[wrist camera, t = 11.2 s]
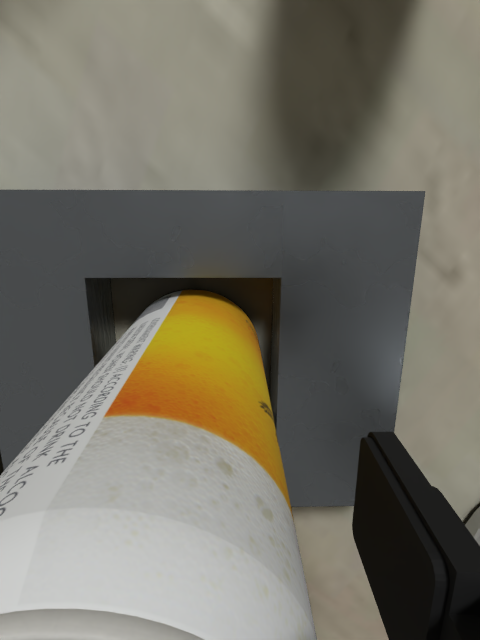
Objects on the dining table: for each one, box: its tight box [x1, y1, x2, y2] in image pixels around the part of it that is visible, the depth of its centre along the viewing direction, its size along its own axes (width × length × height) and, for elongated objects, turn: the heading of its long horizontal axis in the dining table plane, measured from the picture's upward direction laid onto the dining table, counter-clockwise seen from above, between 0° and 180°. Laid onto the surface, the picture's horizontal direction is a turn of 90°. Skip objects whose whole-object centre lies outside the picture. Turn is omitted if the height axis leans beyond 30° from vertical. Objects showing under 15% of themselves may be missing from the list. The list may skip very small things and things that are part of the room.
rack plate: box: [0, 190, 425, 507], centre depth 17 cm, size 18×14×3 cm
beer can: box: [0, 290, 317, 640], centre depth 12 cm, size 6×6×15 cm
